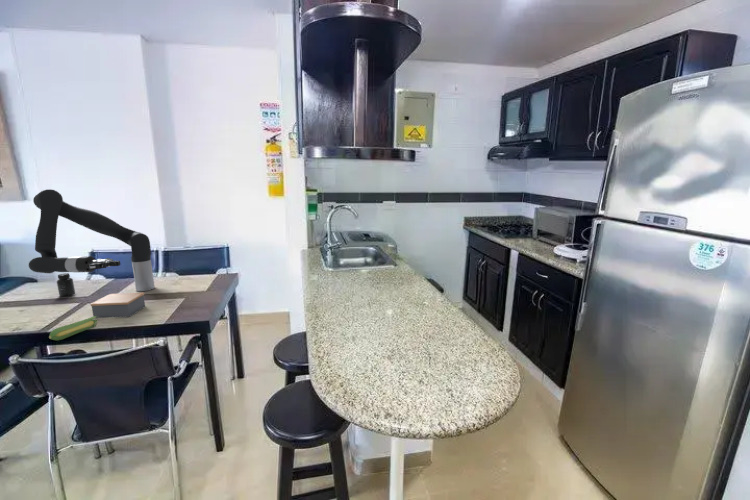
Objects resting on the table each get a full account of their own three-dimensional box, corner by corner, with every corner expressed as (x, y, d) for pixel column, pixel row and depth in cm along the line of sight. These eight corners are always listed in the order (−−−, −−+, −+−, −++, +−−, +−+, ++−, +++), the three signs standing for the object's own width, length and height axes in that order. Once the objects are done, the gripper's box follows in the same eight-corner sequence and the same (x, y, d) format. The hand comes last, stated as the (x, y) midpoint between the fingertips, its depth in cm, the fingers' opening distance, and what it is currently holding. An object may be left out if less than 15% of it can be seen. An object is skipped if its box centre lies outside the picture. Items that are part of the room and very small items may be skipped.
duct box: (112, 307, 177) (110, 296, 176) (145, 306, 178) (143, 295, 177) (93, 317, 164) (91, 305, 163) (129, 316, 165) (127, 304, 164)
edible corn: (43, 332, 140) (50, 330, 139) (95, 314, 159) (102, 313, 158) (48, 344, 141) (55, 342, 139) (99, 325, 160) (106, 323, 158)
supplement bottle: (78, 293, 197) (74, 273, 194) (64, 297, 190) (60, 276, 188) (70, 292, 199) (66, 272, 196) (56, 296, 193) (52, 275, 190)
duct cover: (110, 295, 176) (110, 293, 176) (144, 294, 177) (144, 292, 177) (90, 305, 163) (90, 303, 162) (127, 304, 164) (127, 302, 163)
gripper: (68, 260, 158) (108, 259, 159) (89, 253, 171) (126, 252, 172) (71, 276, 159) (111, 275, 160) (92, 268, 172) (129, 267, 173)
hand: (119, 263), depth 166 cm, fingers closed
